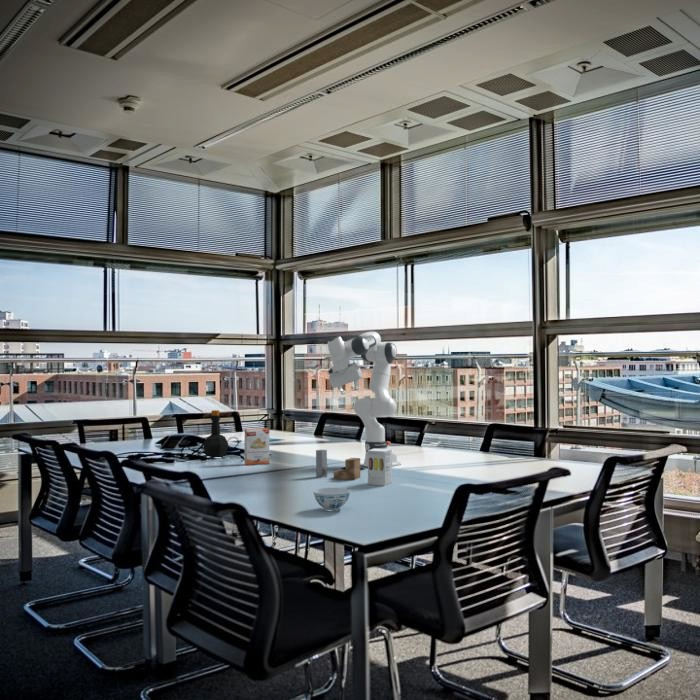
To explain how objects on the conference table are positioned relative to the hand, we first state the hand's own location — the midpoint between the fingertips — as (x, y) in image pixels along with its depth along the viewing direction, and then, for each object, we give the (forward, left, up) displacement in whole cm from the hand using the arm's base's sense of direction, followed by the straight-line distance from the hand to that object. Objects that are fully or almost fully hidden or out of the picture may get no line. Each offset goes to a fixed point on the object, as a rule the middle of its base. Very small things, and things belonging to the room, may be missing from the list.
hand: (350, 391), depth 373 cm
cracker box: (+15, -73, -45) cm, 87 cm away
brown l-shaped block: (+4, +2, -44) cm, 45 cm away
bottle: (+21, -116, -45) cm, 126 cm away
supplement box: (+2, +26, -45) cm, 52 cm away
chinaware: (+55, +60, -45) cm, 93 cm away
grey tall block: (+12, -10, -44) cm, 47 cm away
